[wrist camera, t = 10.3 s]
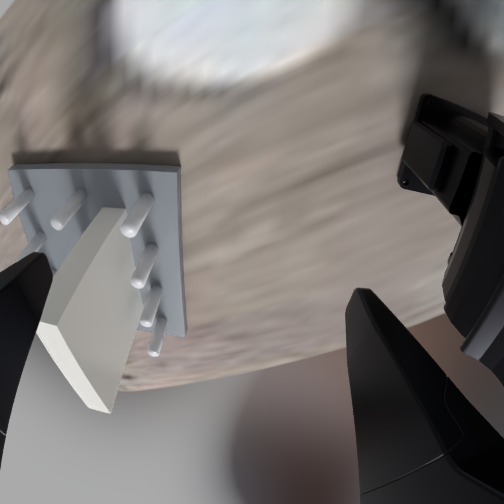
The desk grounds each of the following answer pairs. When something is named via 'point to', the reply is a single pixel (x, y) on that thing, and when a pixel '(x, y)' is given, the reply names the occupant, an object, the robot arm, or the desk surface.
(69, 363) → the white rectangular slab
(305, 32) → the desk surface
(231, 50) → the desk surface
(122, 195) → the dish rack
